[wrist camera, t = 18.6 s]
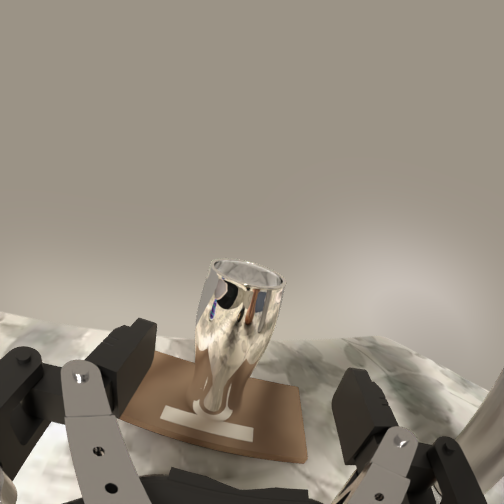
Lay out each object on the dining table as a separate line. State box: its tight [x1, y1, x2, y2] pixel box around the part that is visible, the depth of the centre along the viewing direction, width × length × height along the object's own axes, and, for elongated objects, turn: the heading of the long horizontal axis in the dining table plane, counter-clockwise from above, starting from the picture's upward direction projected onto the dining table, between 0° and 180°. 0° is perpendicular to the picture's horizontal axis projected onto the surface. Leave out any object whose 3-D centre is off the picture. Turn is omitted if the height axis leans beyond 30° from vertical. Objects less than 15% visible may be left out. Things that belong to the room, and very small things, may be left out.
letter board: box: [120, 351, 308, 464], centre depth 28 cm, size 20×12×1 cm, turn 87°
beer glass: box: [186, 258, 286, 421], centre depth 26 cm, size 7×7×15 cm
